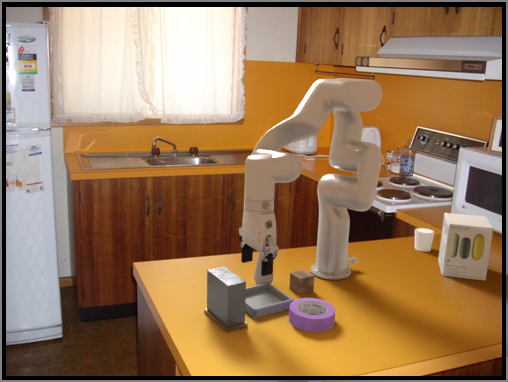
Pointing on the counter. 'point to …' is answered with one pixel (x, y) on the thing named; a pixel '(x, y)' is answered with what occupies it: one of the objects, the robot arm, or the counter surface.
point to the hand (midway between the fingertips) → (256, 268)
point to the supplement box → (465, 246)
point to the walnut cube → (301, 282)
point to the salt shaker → (257, 276)
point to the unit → (226, 299)
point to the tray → (265, 300)
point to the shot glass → (423, 239)
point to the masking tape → (311, 322)
